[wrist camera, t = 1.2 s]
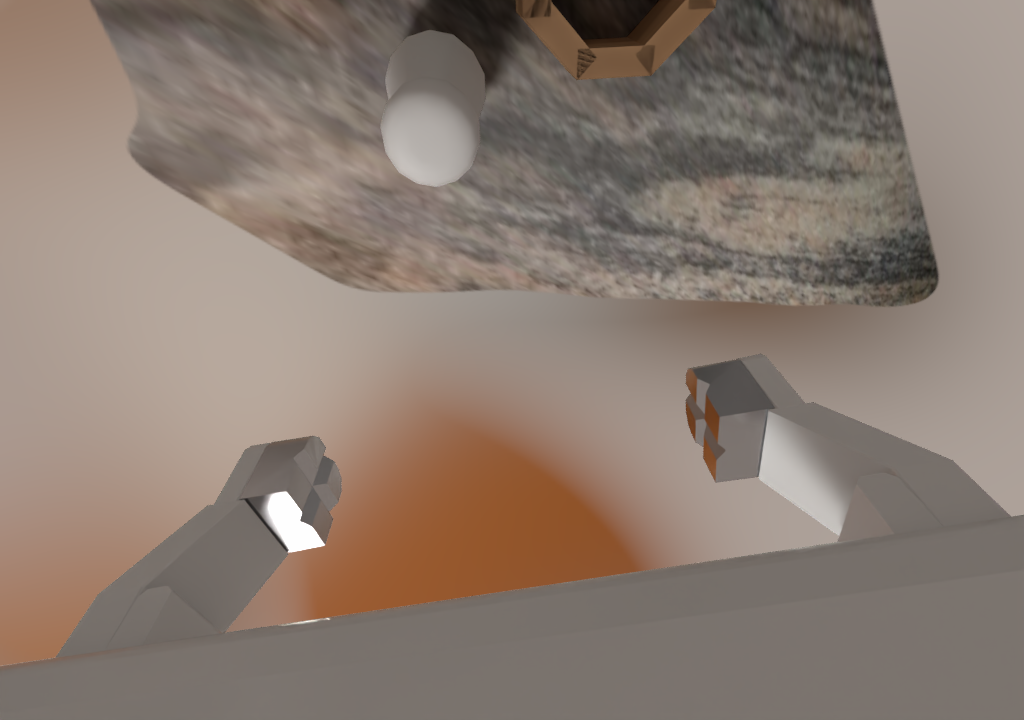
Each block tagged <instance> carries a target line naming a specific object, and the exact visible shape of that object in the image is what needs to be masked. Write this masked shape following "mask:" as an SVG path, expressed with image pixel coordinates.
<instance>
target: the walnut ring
mask: <svg viewBox="0 0 1024 720" xmlns="http://www.w3.org/2000/svg"><path fill="white" fill-rule="evenodd" d="M715 5H716V0H659V1H658V2H657V4H656V5H655V6H654V7H653V8H652V9H651V10H650V12H649V13H648V14H647V15H646V16H645V17H644V18H643V19H642V21H641V22H640V23H639V24H638V25H637V26H636V27H635V29H634V30H633V31H632V32H631V33H630V34H629V35H628V36H627V37H624V38H605V39H587V40H582V39H581V38H580V36H579V35H578V34H577V33H576V31H575V30H574V29H573V28H572V27H571V25H570V24H569V23H568V22H567V20H566V19H565V18H564V17H563V15H562V14H561V13H560V12H559V11H558V9H557V8H556V7H555V6H554V4H553V3H552V2H551V0H516V12H517V13H518V14H519V16H520V17H521V18H522V19H523V20H524V21H525V23H526V24H527V25H528V26H529V27H530V28H531V29H532V31H533V32H534V33H535V34H536V35H537V36H538V37H539V39H540V40H541V41H542V42H543V43H544V44H545V46H546V47H547V48H548V49H549V50H550V51H551V52H552V54H553V55H554V56H555V57H556V58H557V59H558V60H559V62H560V63H561V64H562V65H563V66H564V67H565V69H566V70H567V71H568V72H569V73H570V74H571V75H572V76H573V77H574V78H575V79H576V80H582V79H599V78H616V77H633V76H651V75H652V74H653V73H654V72H655V71H656V70H657V69H658V68H659V67H660V65H661V64H662V63H663V62H664V61H665V60H666V59H667V58H668V57H669V56H670V55H671V54H672V53H673V52H674V51H675V50H676V48H677V47H678V46H679V45H680V44H681V43H682V42H683V41H684V40H685V39H686V38H687V37H688V36H689V35H690V34H691V33H692V31H693V30H694V29H695V28H696V27H697V26H698V25H699V24H700V23H701V22H702V21H703V20H704V19H705V18H706V17H707V16H708V15H709V13H710V12H711V11H712V10H713V9H714V8H715Z"/></svg>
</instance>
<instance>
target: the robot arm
mask: <svg viewBox="0 0 1024 720" xmlns="http://www.w3.org/2000/svg"><path fill="white" fill-rule="evenodd" d="M686 385H687V387H688V389H689V391H690V393H691V394H690V395H689V396H688V397H687V399H686V415H687V421H688V425H689V428H690V431H691V434H692V436H693V438H694V440H695V442H696V443H698V444H699V445H701V446H703V459H704V461H705V463H706V465H707V467H708V469H709V471H710V473H711V475H712V477H713V479H714V481H715V482H723V481H731V480H739V479H746V478H754V477H759V480H761V481H762V482H764V483H765V484H766V485H768V486H770V487H771V488H772V489H773V490H775V491H776V492H778V493H779V494H781V495H782V496H783V497H785V498H786V499H788V500H789V501H790V502H792V503H793V504H795V505H796V506H798V507H799V508H800V509H802V510H803V511H804V512H806V513H807V514H809V515H810V516H811V517H813V518H814V519H816V520H817V521H818V522H820V523H821V524H823V525H824V526H825V527H827V528H828V529H830V530H831V531H832V532H834V533H835V534H837V535H838V536H839V539H838V542H837V543H830V544H823V545H816V546H809V547H802V548H796V549H789V550H782V551H775V552H768V553H762V554H755V555H748V556H741V557H735V558H729V559H721V560H714V561H708V562H702V563H701V562H700V563H694V564H688V565H680V566H674V567H667V568H661V569H654V570H647V571H640V572H633V573H626V574H620V575H613V576H606V577H600V578H593V579H586V580H580V581H573V582H566V583H559V584H553V585H546V586H539V587H532V588H526V589H519V590H512V591H505V592H498V593H492V594H485V595H478V596H471V597H465V598H457V599H451V600H444V601H437V602H430V603H424V604H417V605H410V606H403V607H396V608H390V609H383V610H376V611H369V612H362V613H356V614H349V615H342V616H336V617H329V618H322V619H315V620H308V621H302V622H295V623H288V624H281V625H275V626H269V627H261V628H255V629H248V630H241V631H234V632H227V633H225V631H226V630H227V629H228V628H229V626H230V625H231V624H232V623H233V622H234V620H235V619H236V618H237V617H238V615H239V614H240V613H241V612H242V611H243V609H244V608H245V607H246V606H247V604H248V603H249V602H250V601H251V600H252V598H253V597H254V596H255V595H256V593H257V592H258V591H259V589H260V588H261V587H262V586H263V585H264V584H265V582H266V581H267V580H268V579H269V577H270V576H271V575H272V574H273V572H274V571H275V570H276V569H277V568H278V566H279V565H280V564H281V563H282V561H283V560H284V559H285V558H286V557H287V555H288V553H287V552H292V551H298V550H302V549H308V548H313V547H319V546H324V545H325V544H326V541H327V537H328V534H329V531H330V528H331V524H332V521H333V518H332V516H331V514H330V512H329V511H330V510H331V509H332V508H333V507H334V506H335V505H336V504H337V503H338V502H339V498H340V495H341V476H340V472H339V469H338V467H337V465H336V464H335V462H334V461H333V460H331V459H329V458H327V457H325V456H324V452H325V449H326V447H325V445H324V444H323V442H322V441H321V439H320V438H319V437H316V436H309V437H302V438H296V439H290V440H284V441H277V442H272V443H267V444H260V445H254V446H250V447H249V448H247V449H246V450H245V451H244V452H243V454H242V456H241V458H240V459H239V461H238V463H237V465H236V466H235V468H234V470H233V472H232V474H231V475H230V477H229V479H228V481H227V482H226V484H225V486H224V488H223V490H222V491H221V493H220V495H219V496H218V498H217V500H216V502H215V504H214V505H209V506H206V507H205V508H204V509H203V510H201V511H200V512H199V513H198V514H196V515H195V516H194V517H193V518H192V519H190V520H189V521H188V522H187V523H185V524H184V525H183V526H182V527H181V528H179V529H178V530H177V531H176V532H174V533H173V534H172V535H171V536H169V537H168V538H167V539H166V540H164V541H163V542H162V543H161V544H160V545H158V546H157V547H156V548H155V549H153V550H152V551H151V552H150V553H149V554H147V555H146V556H145V557H144V558H143V559H141V560H140V561H139V562H137V563H136V564H135V565H134V566H133V567H132V568H130V569H129V570H128V571H126V572H125V573H124V574H123V575H122V576H120V577H119V578H118V579H117V580H115V581H114V582H113V583H112V584H110V585H109V586H108V587H107V588H106V589H104V590H103V591H102V592H101V593H99V594H98V595H97V597H96V598H95V600H94V601H93V603H92V604H91V606H90V607H89V609H88V610H87V612H86V613H85V615H84V616H83V618H82V619H81V621H80V622H79V623H78V625H77V626H76V628H75V629H74V631H73V632H72V634H71V635H70V637H69V638H68V640H67V641H66V643H65V644H64V646H63V647H62V649H61V650H60V652H59V653H58V655H57V656H56V657H55V658H51V659H44V660H38V661H31V662H24V663H17V664H12V665H4V666H0V720H1024V515H1020V516H1013V517H1011V516H1010V515H1009V514H1008V513H1007V512H1006V511H1005V510H1004V509H1003V508H1002V507H1001V506H1000V505H999V504H998V503H996V502H995V501H994V500H993V499H992V498H991V497H990V496H989V495H988V494H987V493H986V492H985V491H984V490H983V489H982V488H981V487H980V486H979V485H978V484H977V483H976V482H975V481H974V480H973V479H971V478H970V477H969V476H968V475H967V474H966V473H965V472H964V471H963V470H962V469H961V468H960V467H959V466H958V465H957V464H956V463H955V462H954V461H953V460H950V459H948V458H946V457H943V456H941V455H939V454H936V453H934V452H931V451H929V450H927V449H924V448H922V447H919V446H917V445H914V444H912V443H910V442H907V441H905V440H902V439H900V438H898V437H895V436H893V435H891V434H888V433H885V432H883V431H881V430H879V429H876V428H874V427H871V426H869V425H867V424H864V423H862V422H859V421H857V420H855V419H852V418H850V417H847V416H845V415H843V414H840V413H838V412H835V411H833V410H831V409H828V408H826V407H823V406H821V405H819V404H816V403H814V402H811V403H805V402H804V401H803V400H802V399H801V397H800V396H799V395H798V394H797V393H796V391H795V390H794V389H793V388H792V387H791V385H790V384H789V383H788V382H787V381H786V379H785V378H784V377H783V376H782V375H781V373H780V372H779V371H778V370H777V369H776V367H775V366H774V365H773V364H772V363H771V362H770V360H769V359H768V358H767V357H766V356H765V355H762V354H758V355H753V356H748V357H743V358H738V359H736V360H731V361H725V362H721V363H715V364H709V365H704V366H698V367H693V368H688V369H687V372H686Z"/></svg>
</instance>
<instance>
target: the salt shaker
mask: <svg viewBox="0 0 1024 720" xmlns="http://www.w3.org/2000/svg"><path fill="white" fill-rule="evenodd" d="M385 83H386V88H387V94H388V99H389V100H388V101H387V103H386V106H385V110H384V114H383V118H382V121H381V125H380V127H381V131H382V136H383V141H384V146H385V151H386V154H387V155H388V157H389V158H390V160H391V161H392V163H393V164H394V166H395V167H396V169H397V170H398V172H400V173H401V174H403V175H404V176H406V177H407V178H409V179H411V180H412V181H414V182H415V183H417V184H423V185H429V186H435V187H439V186H442V185H445V184H448V183H451V182H454V181H457V180H458V179H459V178H460V177H461V176H462V175H463V174H464V173H465V172H467V171H468V170H469V169H470V168H471V167H472V165H473V162H474V159H475V157H476V154H477V151H478V148H479V146H480V128H479V117H480V114H481V111H482V108H483V105H484V102H485V99H486V96H485V74H484V72H483V70H482V68H481V66H480V64H479V62H478V60H477V58H476V57H475V55H474V53H473V51H472V50H471V49H470V48H469V47H467V46H466V45H465V44H464V43H463V42H462V41H460V40H459V39H458V38H457V37H456V36H455V35H453V34H448V33H443V32H438V31H433V30H427V31H424V32H421V33H418V34H415V35H412V36H408V37H406V39H405V40H404V41H403V42H402V43H401V44H400V46H399V47H398V48H397V49H396V50H395V51H394V53H393V54H392V55H391V58H390V62H389V66H388V70H387V74H386V78H385Z"/></svg>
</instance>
